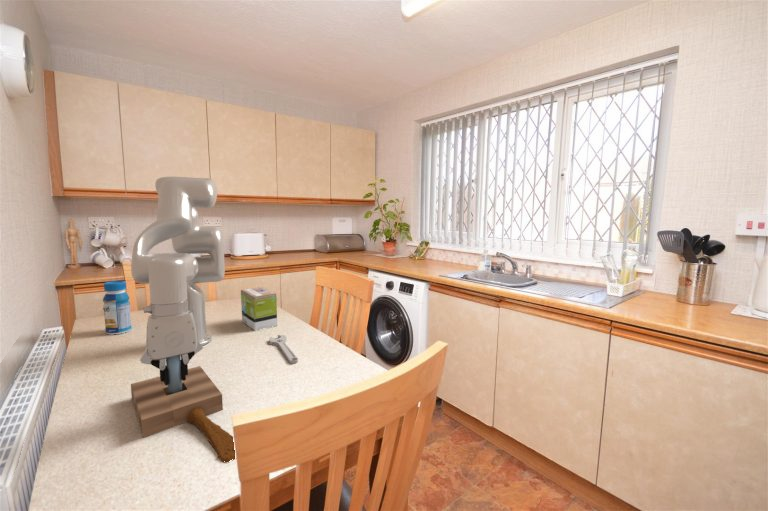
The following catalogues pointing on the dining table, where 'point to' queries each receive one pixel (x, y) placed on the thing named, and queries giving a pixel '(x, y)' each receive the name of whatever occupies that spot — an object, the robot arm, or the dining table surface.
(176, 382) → the peg
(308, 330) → the dining table surface
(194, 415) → the primitive tool
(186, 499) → the dining table surface
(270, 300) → the tea box
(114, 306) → the blue-capped supplement jar
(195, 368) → the hole block
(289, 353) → the adjustable wrench
